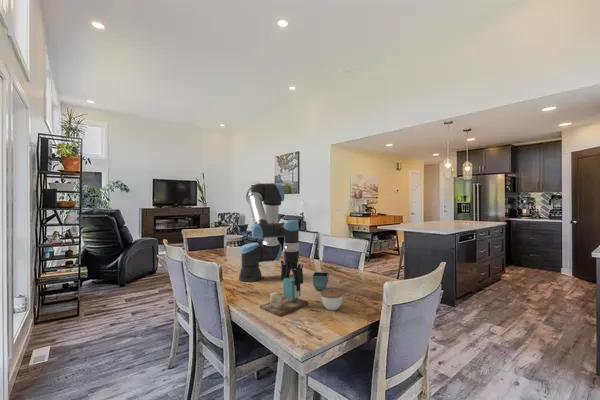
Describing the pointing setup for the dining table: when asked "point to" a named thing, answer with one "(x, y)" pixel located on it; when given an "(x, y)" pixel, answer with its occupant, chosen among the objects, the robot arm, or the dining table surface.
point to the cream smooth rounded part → (276, 300)
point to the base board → (284, 306)
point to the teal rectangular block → (289, 287)
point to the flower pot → (320, 280)
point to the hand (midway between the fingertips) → (292, 295)
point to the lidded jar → (331, 298)
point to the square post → (291, 299)
